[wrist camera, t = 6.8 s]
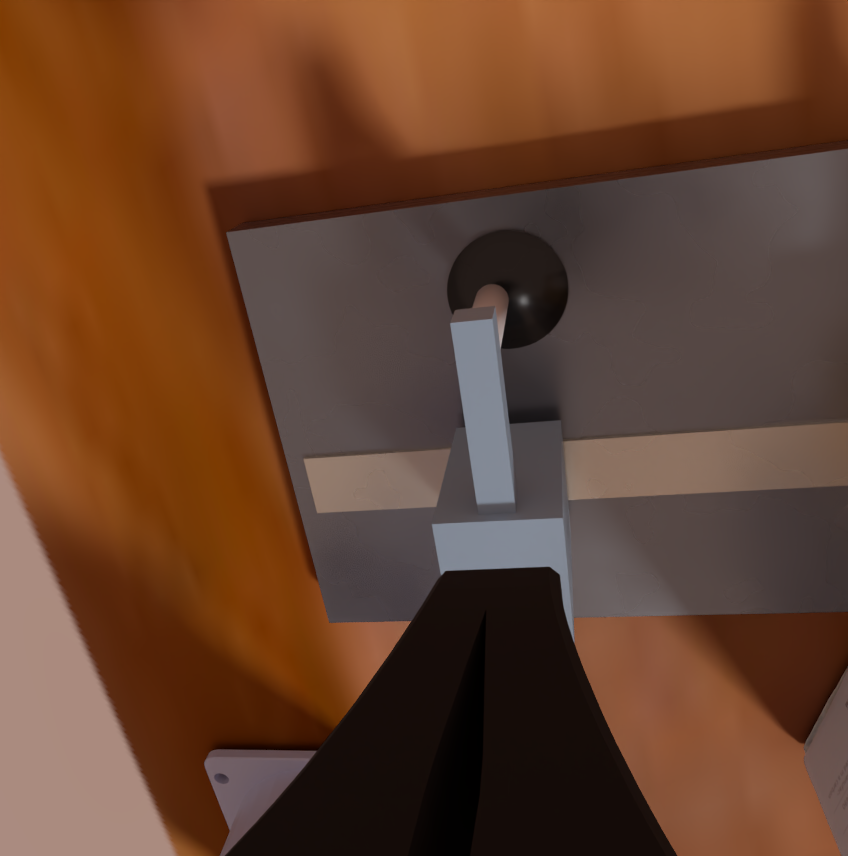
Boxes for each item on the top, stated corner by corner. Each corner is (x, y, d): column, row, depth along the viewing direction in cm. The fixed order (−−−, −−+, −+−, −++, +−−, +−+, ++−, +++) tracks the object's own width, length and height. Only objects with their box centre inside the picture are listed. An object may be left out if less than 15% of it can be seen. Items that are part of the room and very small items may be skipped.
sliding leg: (570, 531, 18) (574, 646, 15) (472, 535, 19) (454, 648, 15) (546, 255, 16) (544, 318, 12) (432, 269, 16) (397, 333, 13)
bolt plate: (1036, 580, 19) (1186, 746, 14) (338, 599, 22) (284, 736, 18) (1149, 98, 14) (1423, 124, 10) (242, 222, 18) (138, 282, 13)
